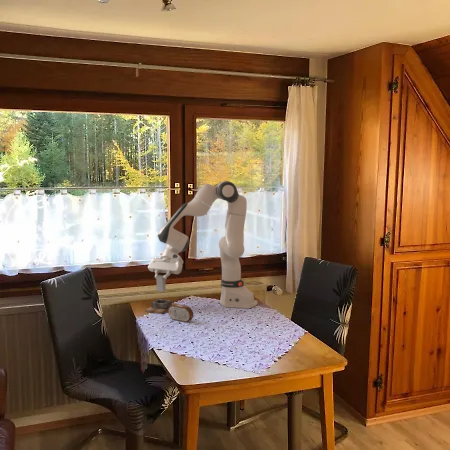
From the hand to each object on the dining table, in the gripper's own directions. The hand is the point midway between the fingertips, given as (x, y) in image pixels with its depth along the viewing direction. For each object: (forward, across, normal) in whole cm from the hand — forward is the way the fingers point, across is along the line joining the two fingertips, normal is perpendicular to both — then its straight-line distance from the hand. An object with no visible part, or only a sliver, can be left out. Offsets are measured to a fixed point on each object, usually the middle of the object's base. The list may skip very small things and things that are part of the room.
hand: (160, 278), depth 275 cm
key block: (+5, 0, +6) cm, 7 cm away
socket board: (+12, 0, +13) cm, 18 cm away
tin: (+22, +20, +3) cm, 30 cm away
